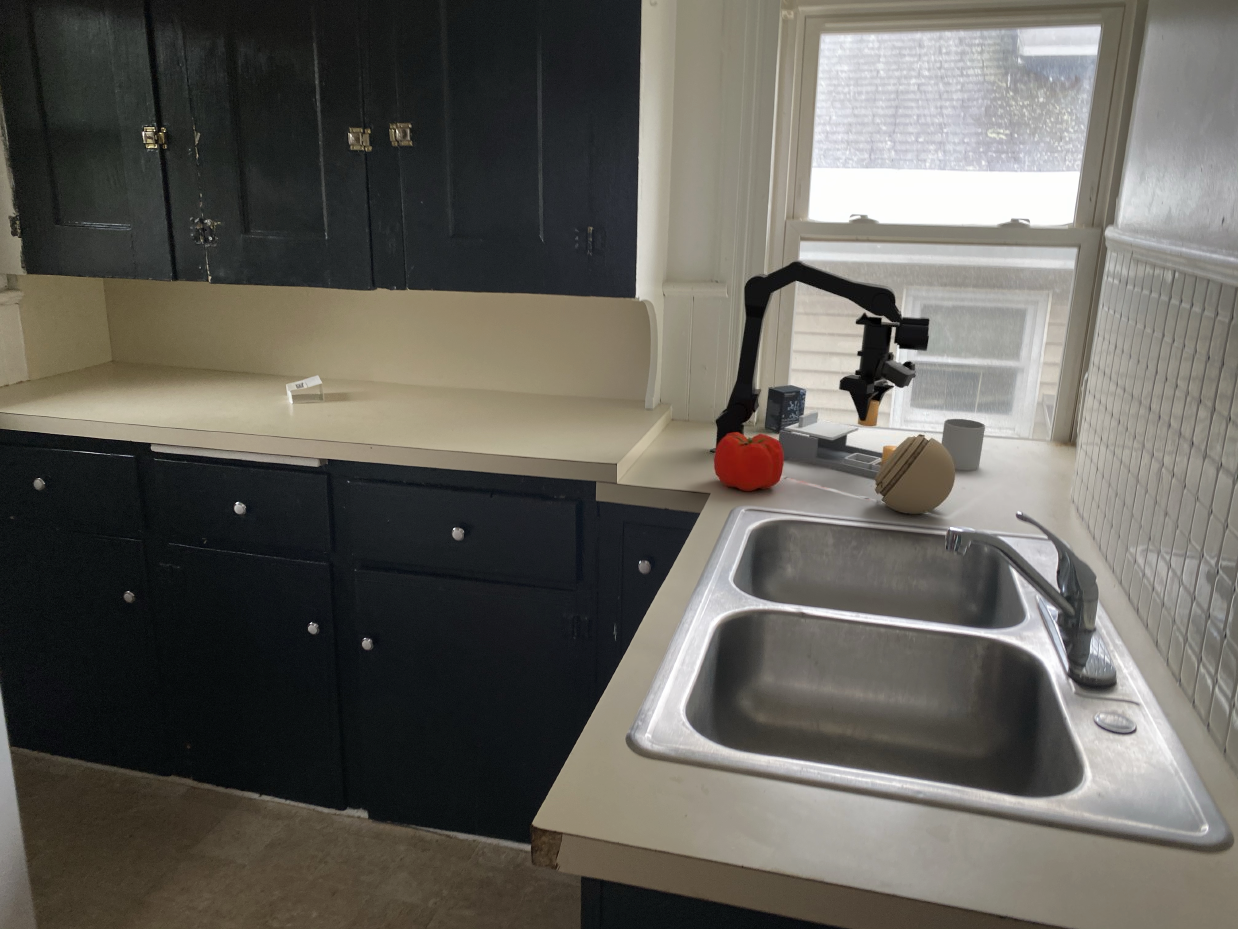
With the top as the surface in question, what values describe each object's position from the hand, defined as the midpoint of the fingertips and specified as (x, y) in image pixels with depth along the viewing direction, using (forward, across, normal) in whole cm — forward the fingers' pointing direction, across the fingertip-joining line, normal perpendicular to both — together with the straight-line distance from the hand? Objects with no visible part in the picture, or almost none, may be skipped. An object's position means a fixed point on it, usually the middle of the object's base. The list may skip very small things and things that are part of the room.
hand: (867, 419), depth 205 cm
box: (+11, +16, +29) cm, 35 cm away
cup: (+11, +16, -15) cm, 25 cm away
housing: (+11, 0, +4) cm, 11 cm away
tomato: (+11, -30, +10) cm, 34 cm away
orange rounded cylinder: (+1, 0, 0) cm, 1 cm away
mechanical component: (+11, -21, -20) cm, 31 cm away
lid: (+5, 0, +10) cm, 11 cm away
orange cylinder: (+10, 0, -6) cm, 12 cm away
